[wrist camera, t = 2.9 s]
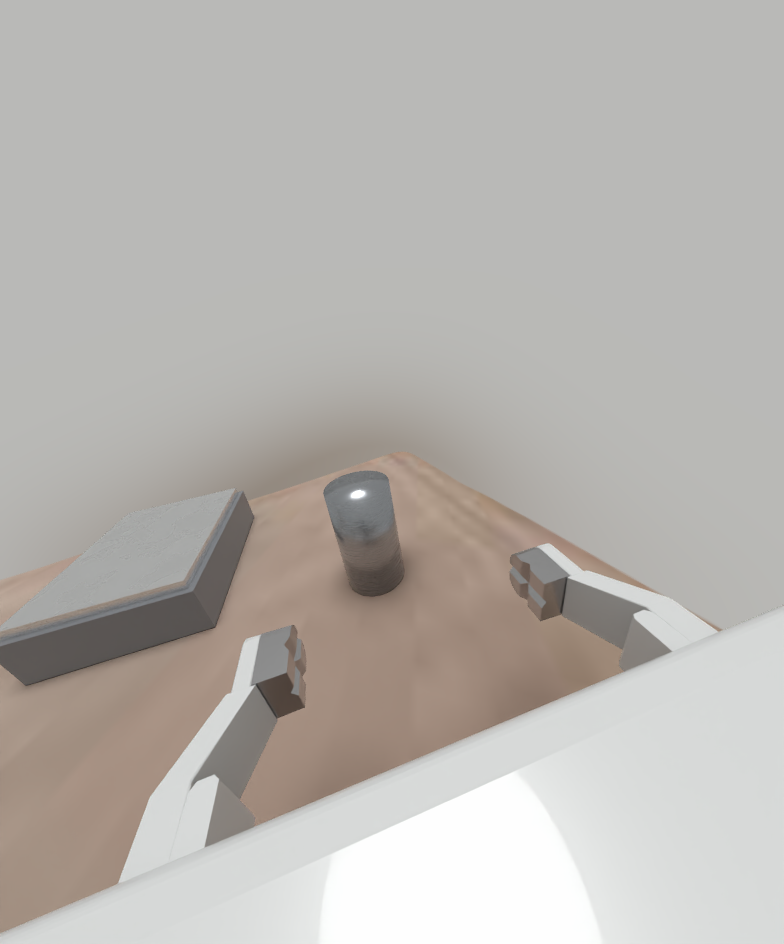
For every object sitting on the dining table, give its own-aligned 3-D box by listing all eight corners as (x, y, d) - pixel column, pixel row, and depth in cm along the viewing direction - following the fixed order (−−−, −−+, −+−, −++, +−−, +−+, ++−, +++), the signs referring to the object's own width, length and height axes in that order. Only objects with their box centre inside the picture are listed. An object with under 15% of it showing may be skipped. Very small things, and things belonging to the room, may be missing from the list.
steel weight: (352, 604, 23) (324, 510, 19) (346, 562, 27) (322, 480, 24) (411, 585, 24) (395, 491, 20) (395, 548, 28) (380, 465, 24)
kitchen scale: (25, 685, 21) (-25, 643, 19) (149, 541, 36) (129, 509, 34) (215, 626, 23) (188, 583, 21) (255, 514, 39) (241, 483, 37)
